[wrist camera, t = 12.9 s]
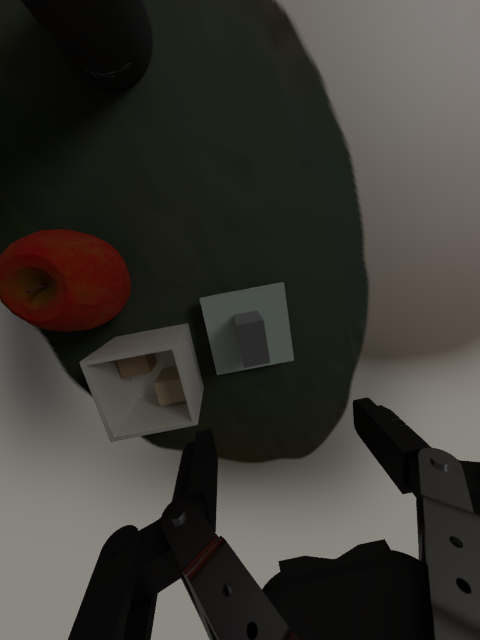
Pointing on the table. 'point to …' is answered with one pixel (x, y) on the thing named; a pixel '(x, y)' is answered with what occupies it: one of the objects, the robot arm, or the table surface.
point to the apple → (63, 280)
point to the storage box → (146, 382)
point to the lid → (248, 328)
